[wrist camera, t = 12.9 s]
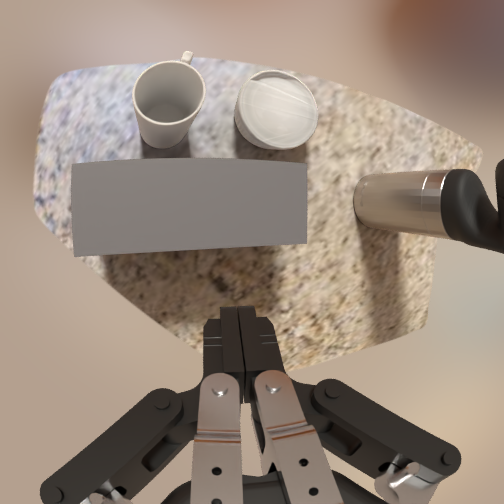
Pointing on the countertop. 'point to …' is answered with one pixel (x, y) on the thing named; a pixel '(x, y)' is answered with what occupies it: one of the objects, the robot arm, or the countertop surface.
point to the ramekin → (276, 111)
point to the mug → (168, 101)
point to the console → (186, 204)
